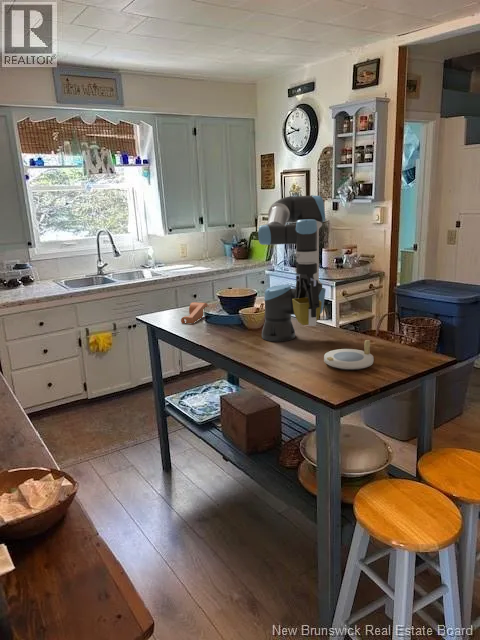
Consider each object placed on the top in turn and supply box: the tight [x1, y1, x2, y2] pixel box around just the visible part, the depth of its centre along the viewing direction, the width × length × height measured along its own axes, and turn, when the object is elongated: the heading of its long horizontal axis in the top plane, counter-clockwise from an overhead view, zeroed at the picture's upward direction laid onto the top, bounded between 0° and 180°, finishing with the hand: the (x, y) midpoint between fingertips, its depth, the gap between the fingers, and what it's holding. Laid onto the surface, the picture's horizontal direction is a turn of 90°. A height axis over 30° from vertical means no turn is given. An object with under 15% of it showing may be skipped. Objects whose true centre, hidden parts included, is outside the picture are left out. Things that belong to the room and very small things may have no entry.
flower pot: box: [292, 298, 322, 326], centre depth 178 cm, size 9×9×9 cm
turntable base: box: [333, 367, 364, 371], centre depth 178 cm, size 13×13×1 cm
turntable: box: [323, 339, 375, 370], centre depth 177 cm, size 18×18×7 cm
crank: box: [180, 301, 209, 324], centre depth 253 cm, size 20×8×8 cm, turn 159°
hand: (306, 322), depth 179 cm, fingers closed on flower pot, 9 cm apart
